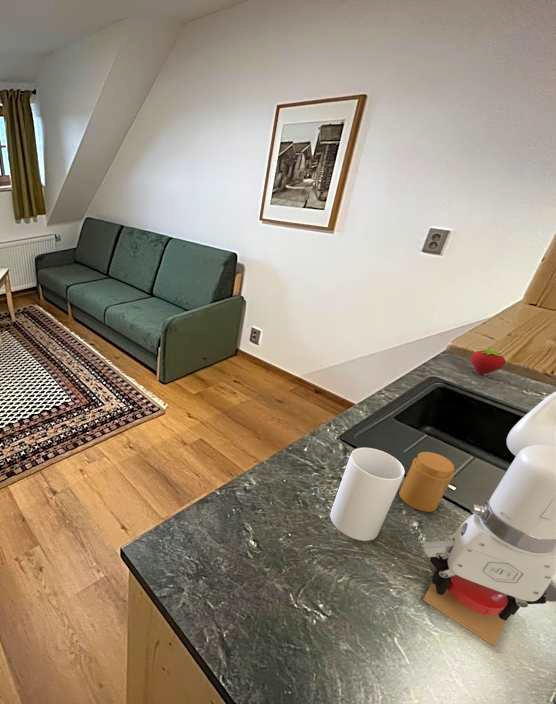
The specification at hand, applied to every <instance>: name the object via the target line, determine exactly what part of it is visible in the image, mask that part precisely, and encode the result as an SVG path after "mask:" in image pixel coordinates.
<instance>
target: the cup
mask: <svg viewBox="0 0 556 704" xmlns="http://www.w3.org/2000/svg"><path fill="white" fill-rule="evenodd" d="M405 473H406V472H405V467H404V466H403V464H402V463H401V462H400V461H399V460H398V459H397V458H396V457H395V456H392V455H391V454H389V453H387V452H385V451H383V450H379V449H377V448H372V447H357V448H355V449H353V451H351V453H350V455H349V458H348V460H347V463H346V466H345V469H344V472H343V475H342V478H341V481H340V484H339V487H338V489H337V493H336V496H335V498H334V501H333V504H332V507H331V510H330V514H329V518H330V521H331V522H332V525H333V526H334V527H335V528H336V529H337V530H338V531H339V532H341V533H342V534H343V535H345V536H347V537H349V538H351V539H353V540H357V541H364V542H368V541H369V542H370V541H373V540H374V539H376V538H377V537H378V535H379V534H380V531H381V529H382V526H383V524H384V522H385V519H386V517H387V515H388V513H389V511H390V509H391V506H392V503H393V502H394V499H395V497H396V496H397V495H396V494H397V492H398V490H399V489H400V487H401V486H400V485H402V481H403V480H404V476H405Z"/></svg>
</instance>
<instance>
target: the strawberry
mask: <svg viewBox="0 0 556 704" xmlns="http://www.w3.org/2000/svg"><path fill="white" fill-rule="evenodd" d="M492 348H493V346H492V347H490V348H489V349H487V348H486V349H484V348H480V350H477V351H475V352H473V353H472V354H471V356H470V362H471V364H472V366H473V368H474V370H475V371H476V373H477V374H478V375H480V376H484V375H487V374H490V373H494V372H496V371H498V370H500V369H502V368H503V367H504V366H505V365H506V359H505V357H504V356H503V355H502V353H501V352H499V351H498V350H493V349H492Z"/></svg>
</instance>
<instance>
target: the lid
mask: <svg viewBox="0 0 556 704" xmlns="http://www.w3.org/2000/svg"><path fill="white" fill-rule="evenodd" d="M447 589H448V590H449V592H450V593H451V594H452V596H453V597H454V598H455V599H457V600H458V601H459V602H460V603H461V604H463V605H464V606H466V607H467V608H469V609H471V610H473V611H475V612H478V613H480V614H484V615H490V616H493V615H499V614H500V613H501V612H502V611H503V610H504V608H505V607H506V606H507V604H508V598H507V594H504V593H502V592H499V591H496V590H493V589H491V588H488V587H485V586H483V585H480V584H478V583H475V582H472V581H470V580H467V579H465V578H462V577H460V576H458V575H454V576H451V583H450V585H449V586H448V588H447Z"/></svg>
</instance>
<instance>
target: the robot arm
mask: <svg viewBox="0 0 556 704" xmlns="http://www.w3.org/2000/svg"><path fill="white" fill-rule="evenodd" d="M506 446H507V448H508V450H509V451H510V453H511V454H512V455H513V456H514V459H513V461H512V462H511V464H510V465H509V467H508V468H507V470H506V471H505V473H504V475H503V477H502V478H501V480H500V482H499V483H498V485H497V486H496V487H495V489H494V491H493V492H492V495H491V497H490V498H489V499H487V500H486V501H485V503H483V504H476V503H472V504H470V513H472V514H471V515H470V516H469V517H467V518H466V519H465V520H464V521H463V522H462V524H460V526H458V528H457V529H456V530H455V532H454V533H453V534H452V536H451V537H450V539H448V540H436V541H423V542H422V543H421V545H422V550H423V552H424V554H425V555H426V557H427V558H428V559H429V562H430V563H431V565H433V566H434V568H435V571H434V573H433V574H432V577H431V583H433V584H435V585H436V591H437V594H440V595H443V594H444V593H445V591H446V590H447V588H448V586H449V585H450V583H451V576H454V575H458V576H460V577H462V578H465V579H467V580H470V581H472V582H475V583H478V584H480V585H483V586H485V587H488V588H491V589H493V590H496V591H499V592H502V593H504V594H507V598H508V604H507V606H506V607H505V608H504V610H503V611H502V612H501V613H500V614H499V617H500V618H501V619H502V620H505V622H506V621H508V619H509V618H510V617H511V615H512V616H514V615H515V614H517V612H518V610H519V609H520V608H524V609H525V608H528V607H529V605H543V604H546V603H547V602H549V603H552V602H556V583H555V582H554V581H553V578H554V576H555V574H556V390H555V391H554V392H552V393H550V394H549V395H547V396H546V397H545V398H544V399H543V400H542V401H540V402H539V403H538V404H537V405H536V406H534V407H533V408H532V409H530V411H529V412H527V413H526V414H525V415H524V416H523V417H522V418H521V419H520V420H518V422H516V424H514V426H513V427H512V428H511V429H510V431H509V432H508V434H507V437H506ZM440 554H448V555H445V556H441V555H440Z"/></svg>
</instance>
